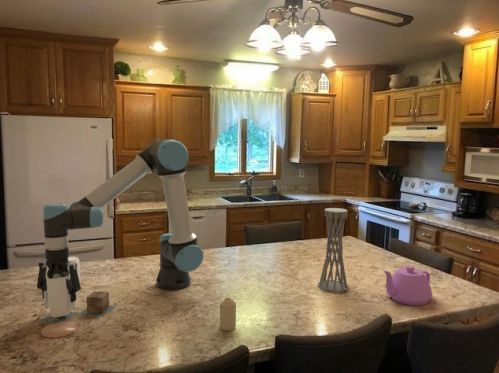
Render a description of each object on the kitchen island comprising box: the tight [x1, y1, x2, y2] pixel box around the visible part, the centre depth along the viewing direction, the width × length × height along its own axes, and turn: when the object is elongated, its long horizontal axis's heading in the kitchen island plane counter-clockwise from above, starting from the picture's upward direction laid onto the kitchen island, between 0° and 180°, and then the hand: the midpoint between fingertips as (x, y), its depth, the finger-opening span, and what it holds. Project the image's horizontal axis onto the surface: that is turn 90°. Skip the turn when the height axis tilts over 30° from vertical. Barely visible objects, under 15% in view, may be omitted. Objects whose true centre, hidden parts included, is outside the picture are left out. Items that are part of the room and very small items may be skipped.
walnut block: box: [86, 290, 110, 313], centre depth 155 cm, size 6×6×6 cm
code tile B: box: [78, 304, 117, 318], centre depth 155 cm, size 10×10×1 cm
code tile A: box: [37, 311, 80, 324], centre depth 148 cm, size 10×10×1 cm
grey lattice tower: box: [317, 207, 349, 293], centre depth 182 cm, size 14×13×35 cm
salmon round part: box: [40, 320, 78, 339], centre depth 138 cm, size 11×11×1 cm
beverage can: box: [68, 255, 81, 283], centre depth 181 cm, size 8×8×12 cm
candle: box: [219, 297, 237, 331], centre depth 142 cm, size 6×6×10 cm
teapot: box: [383, 265, 433, 306], centre depth 171 cm, size 25×18×14 cm
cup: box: [45, 272, 70, 318], centre depth 148 cm, size 7×7×15 cm
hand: (59, 308), depth 148 cm, fingers closed on cup, 9 cm apart
